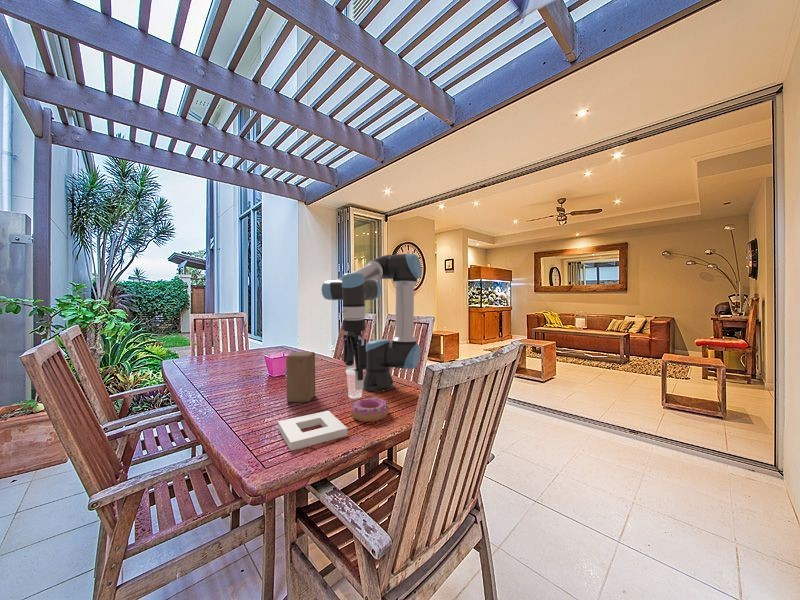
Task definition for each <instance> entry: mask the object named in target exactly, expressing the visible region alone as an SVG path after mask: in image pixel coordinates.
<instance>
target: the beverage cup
mask: <svg viewBox="0 0 800 600" xmlns="http://www.w3.org/2000/svg"><path fill="white" fill-rule="evenodd" d="M353 365H354V368H350V369H347V368H346V369H345V374H346V385H347V384H348V385H347V393H348V395H347V396H348V398H350V399H360V398H361V397H363V389H360V390H355V371H354V369H356V365H355V358H354V364H353ZM364 371H365V369H364V370H363V374H364Z"/></svg>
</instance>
